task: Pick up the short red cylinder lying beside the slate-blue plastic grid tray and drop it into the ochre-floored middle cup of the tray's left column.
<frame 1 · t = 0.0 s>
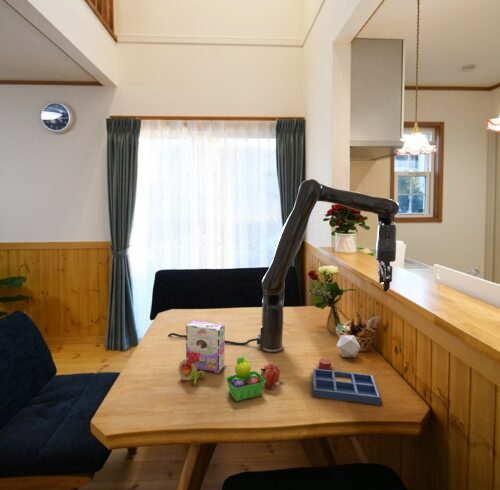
hand: (384, 288, 140), 29 cm above the table, tool pointing down, fingers open, 8 cm apart
short red cylinder: (324, 368, 133), on the table
pomegranate: (270, 385, 120), on the table
grid: (344, 388, 119), on the table
fruit basket: (244, 393, 115), on the table
die: (347, 356, 144), on the table
bird rattle: (190, 382, 121), on the table
candy box: (205, 367, 132), on the table
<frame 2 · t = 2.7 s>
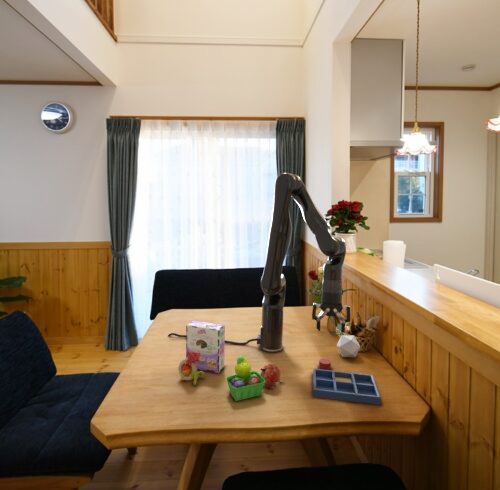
hand: (330, 331, 133), 14 cm above the table, tool pointing down, fingers open, 8 cm apart
nothing on the table moved.
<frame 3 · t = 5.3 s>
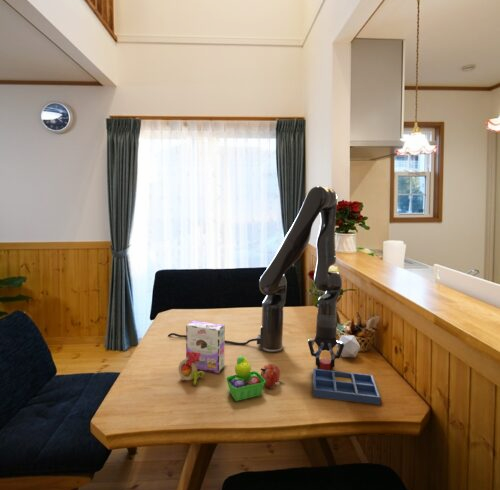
hand: (324, 366, 133), 1 cm above the table, tool pointing down, fingers closed on short red cylinder, 4 cm apart
short red cylinder: (324, 368, 133), on the table, touching gripper
everything else where it was.
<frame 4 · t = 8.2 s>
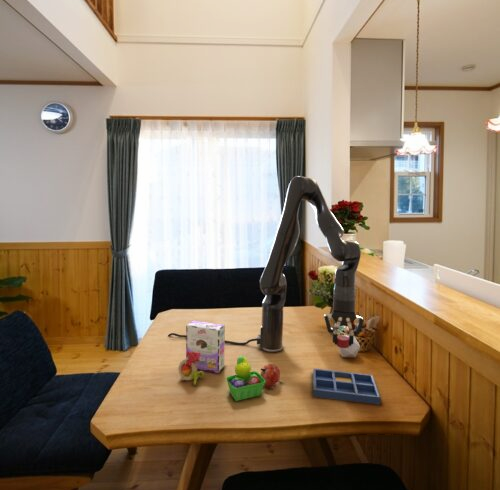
hand: (342, 344, 123), 14 cm above the table, tool pointing down, fingers closed on short red cylinder, 4 cm apart
short red cylinder: (342, 345, 123), point 13 cm above the table, touching gripper
everything else where it was.
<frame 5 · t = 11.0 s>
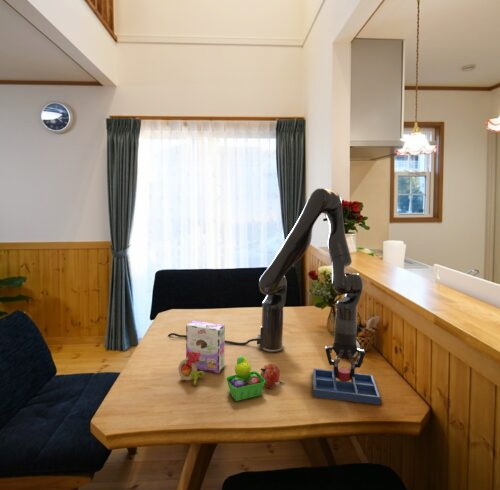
hand: (343, 376, 122), 2 cm above the table, tool pointing down, fingers closed on short red cylinder, 4 cm apart
short red cylinder: (343, 378, 122), point 2 cm above the table, touching gripper
everything else where it was.
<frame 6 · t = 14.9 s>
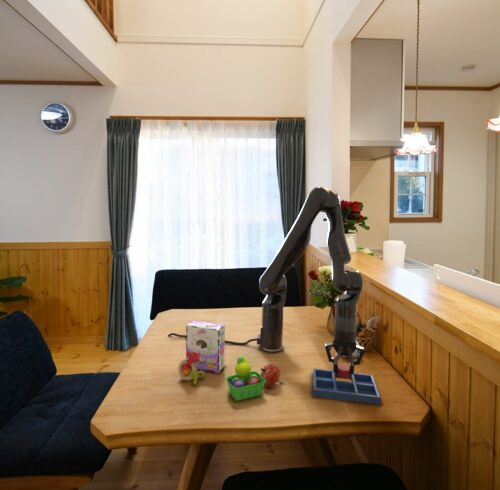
hand: (343, 373, 122), 3 cm above the table, tool pointing down, fingers closed on short red cylinder, 4 cm apart
short red cylinder: (343, 375, 122), point 3 cm above the table, touching gripper
everything else where it was.
when the fingers open (3 cm above the table, at t = 18.4 s): short red cylinder drops 2 cm, resting on grid.
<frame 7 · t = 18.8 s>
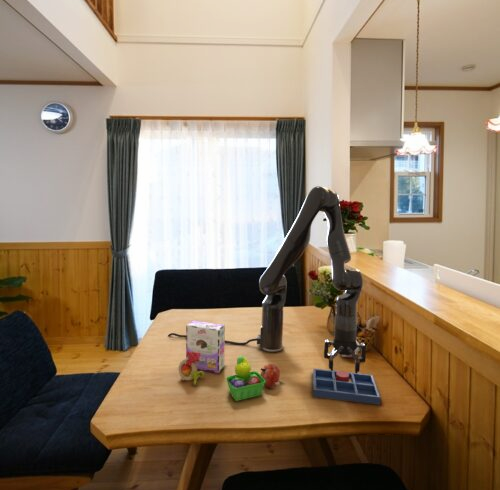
hand: (343, 371, 122), 5 cm above the table, tool pointing down, fingers open, 8 cm apart
short red cylinder: (342, 381, 122), point 1 cm above the table, touching grid
everything else where it was.
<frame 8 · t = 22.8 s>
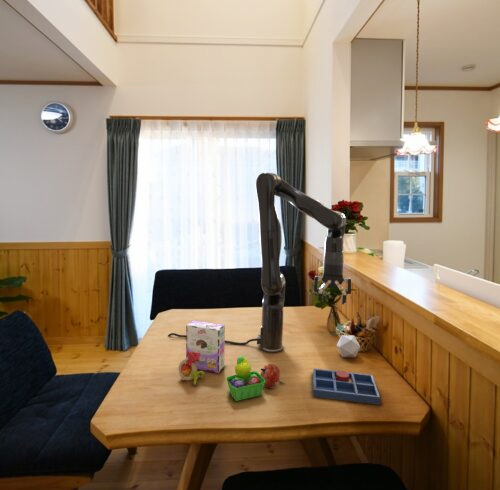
hand: (331, 303, 136), 24 cm above the table, tool pointing down, fingers open, 8 cm apart
nothing on the table moved.
at the end: short red cylinder 0.3 cm from the target spot in the grid, point 0.6 cm above the grid's base; short red cylinder tilted 0° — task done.
